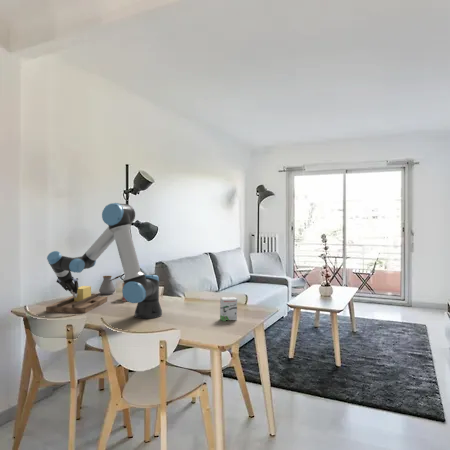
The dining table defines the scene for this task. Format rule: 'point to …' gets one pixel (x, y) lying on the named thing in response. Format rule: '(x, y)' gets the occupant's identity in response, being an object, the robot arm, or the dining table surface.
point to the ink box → (228, 308)
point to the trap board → (77, 304)
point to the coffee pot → (108, 285)
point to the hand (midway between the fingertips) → (76, 295)
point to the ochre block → (83, 293)
